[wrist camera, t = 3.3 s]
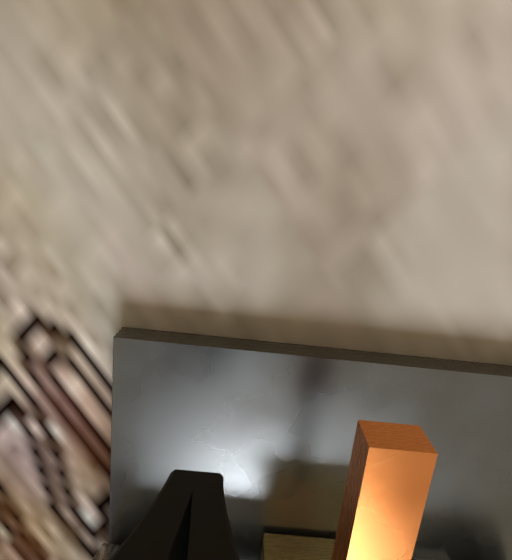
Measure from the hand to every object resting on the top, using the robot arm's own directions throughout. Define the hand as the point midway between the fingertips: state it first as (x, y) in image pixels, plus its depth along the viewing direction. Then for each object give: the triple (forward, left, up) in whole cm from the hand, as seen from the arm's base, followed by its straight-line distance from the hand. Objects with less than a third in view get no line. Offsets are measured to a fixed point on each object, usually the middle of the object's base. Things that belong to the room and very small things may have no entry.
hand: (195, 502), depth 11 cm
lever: (+5, -3, 0) cm, 5 cm away
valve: (+7, -6, -6) cm, 11 cm away
